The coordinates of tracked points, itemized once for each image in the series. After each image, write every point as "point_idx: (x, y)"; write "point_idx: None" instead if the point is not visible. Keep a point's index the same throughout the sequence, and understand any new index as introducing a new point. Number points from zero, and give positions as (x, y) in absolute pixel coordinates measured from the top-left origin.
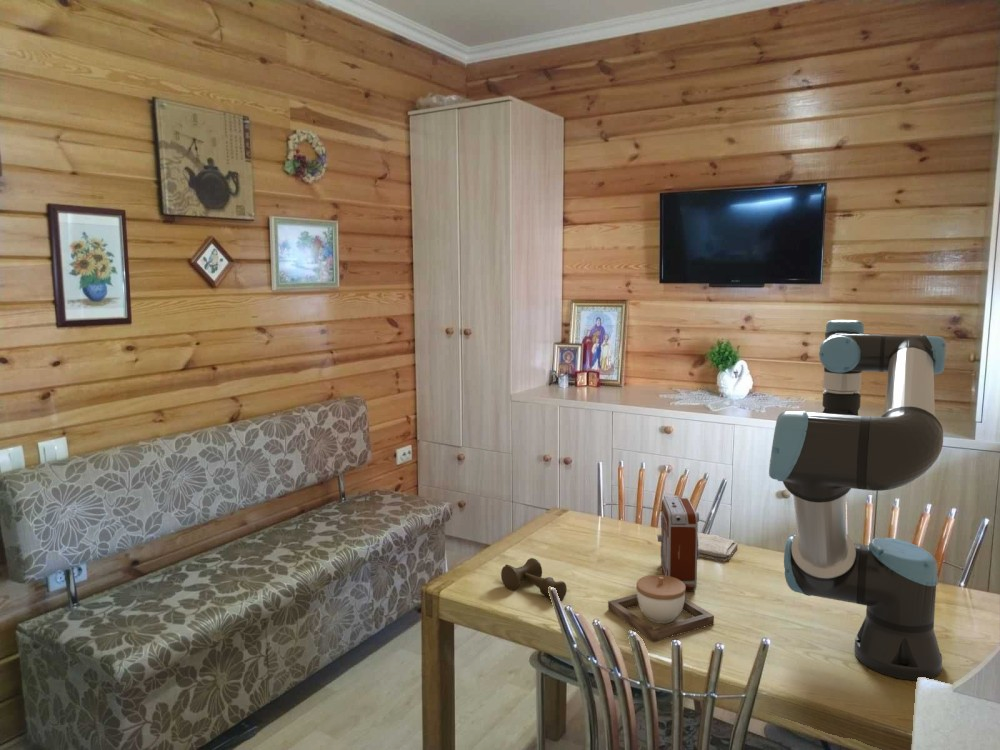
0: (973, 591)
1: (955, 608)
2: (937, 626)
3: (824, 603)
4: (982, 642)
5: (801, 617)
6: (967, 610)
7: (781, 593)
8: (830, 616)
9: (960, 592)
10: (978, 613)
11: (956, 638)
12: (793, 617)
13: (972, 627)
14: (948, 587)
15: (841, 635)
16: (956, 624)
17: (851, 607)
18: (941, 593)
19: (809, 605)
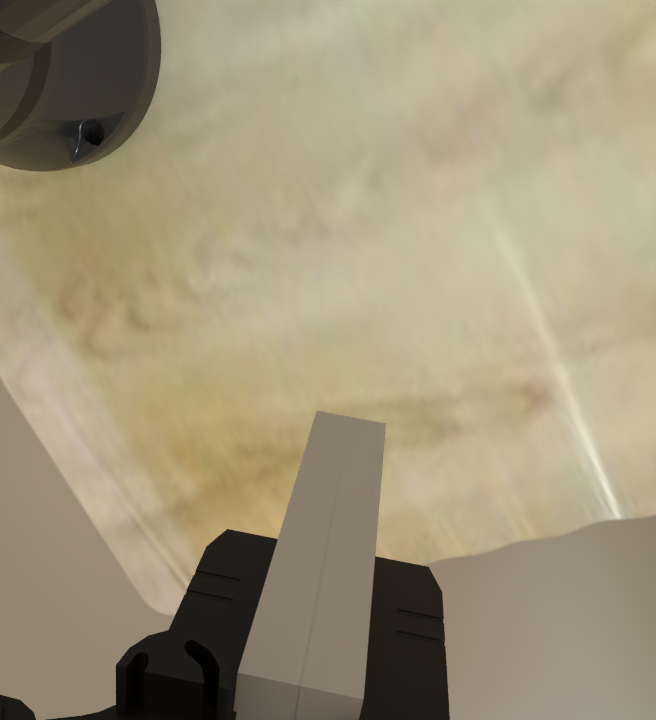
0: None
1: (155, 489)
2: (114, 350)
3: (410, 221)
4: (3, 350)
5: (403, 33)
6: (132, 499)
7: (571, 163)
8: (339, 140)
9: None
10: (108, 501)
11: (46, 320)
12: (424, 3)
13: (67, 414)
14: None
15: (231, 30)
16: (97, 400)
17: (333, 268)
18: None
19: (438, 158)
